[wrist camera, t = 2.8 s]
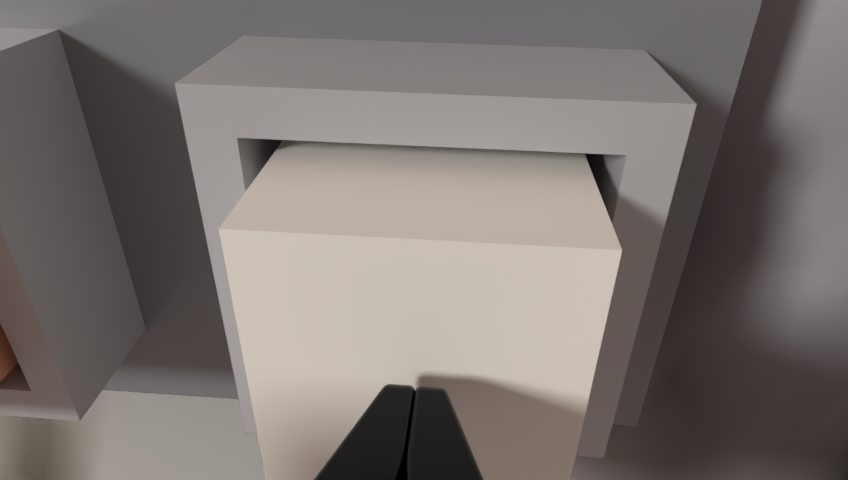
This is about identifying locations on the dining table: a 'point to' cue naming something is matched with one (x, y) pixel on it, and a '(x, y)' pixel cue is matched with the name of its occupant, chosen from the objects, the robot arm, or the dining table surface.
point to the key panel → (324, 122)
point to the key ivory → (421, 296)
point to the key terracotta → (6, 355)
